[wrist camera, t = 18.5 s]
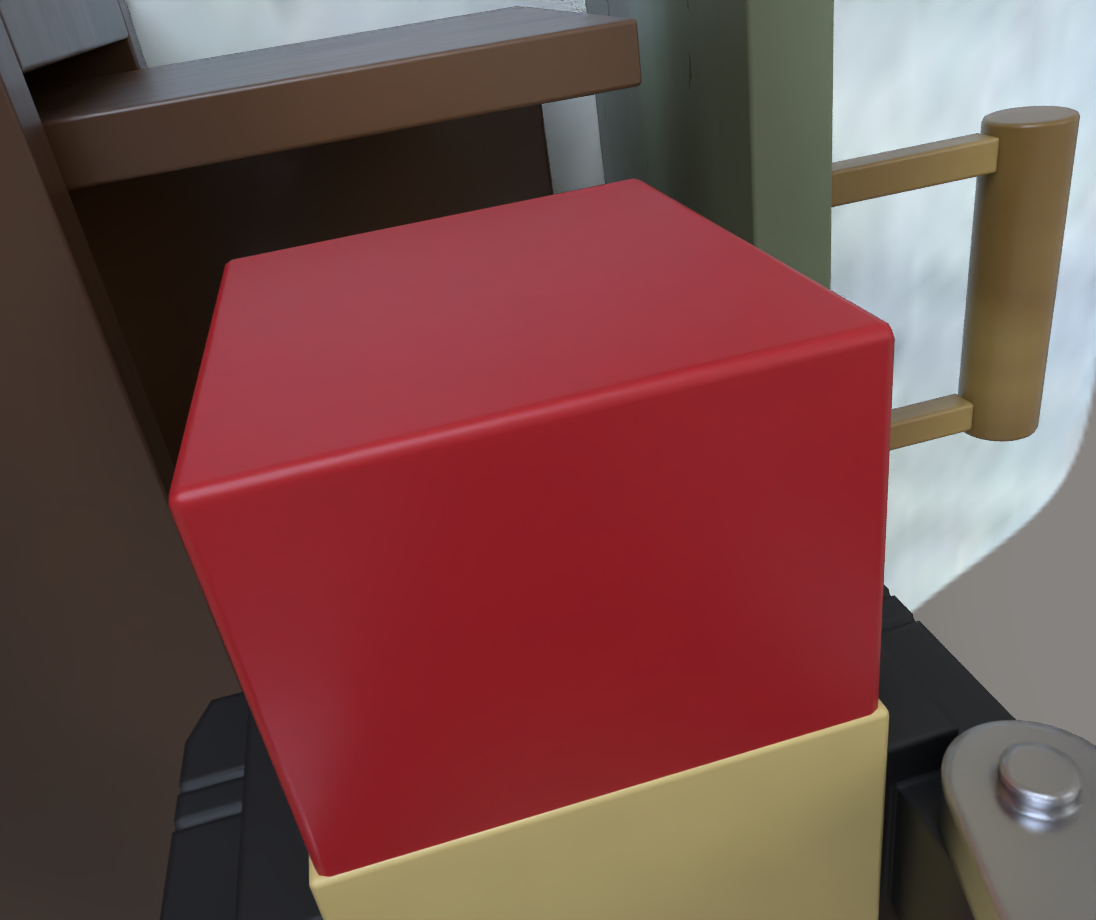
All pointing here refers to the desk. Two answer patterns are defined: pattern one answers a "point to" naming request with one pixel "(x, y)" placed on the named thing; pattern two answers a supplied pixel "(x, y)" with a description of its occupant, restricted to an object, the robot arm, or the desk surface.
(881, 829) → the red and yellow block
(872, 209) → the desk surface
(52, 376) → the cabinet
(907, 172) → the drawer
